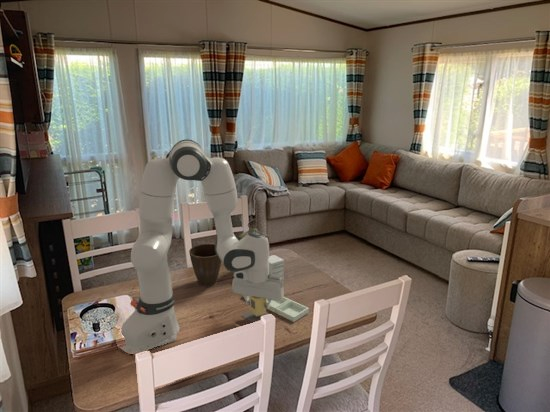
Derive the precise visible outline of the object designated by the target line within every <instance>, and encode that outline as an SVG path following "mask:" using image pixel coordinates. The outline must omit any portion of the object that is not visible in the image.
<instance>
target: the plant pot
mask: <svg viewBox="0 0 550 412" xmlns="http://www.w3.org/2000/svg"><path fill="white" fill-rule="evenodd" d="M189 257H190V262H191V266H192V268H193V272H194V275H195V277H196V279H197V281H198V283H199V285H201V286H203V287H210V286H213V285H215V284H216V281H217V279H218V276H219V274H220V269H221V266H222V261H221V260H220V258H219V257H218V256H217V254H216V252H215V244H213V243H203V244H197V245H195V246H192V247H191V248H190V249H189Z"/></svg>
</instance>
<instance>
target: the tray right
mask: <svg viewBox="0 0 550 412" xmlns="http://www.w3.org/2000/svg"><path fill="white" fill-rule="evenodd" d="M309 313H310V308H309V307H308V306H306V305H303V304H302V303H298V302H297V301H294V300H292V299H290V301H288V302H287V303H285V304H283V305H282V306H280V307H278V308H276V313H275V314H277V315H278V316H281V317H282V318H284V319H287V320H288V321H290V322H293V323H296V322H297V321H298V320H300V319H302V318H303V317H305V316H306V315H307V314H309Z"/></svg>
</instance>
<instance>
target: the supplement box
mask: <svg viewBox="0 0 550 412" xmlns="http://www.w3.org/2000/svg"><path fill="white" fill-rule="evenodd" d="M268 262H269V275H272V276H276V277H277V276H278V277H280V278H281V279H283V281H285V279H284V276H285V275H284V274H285V273H284V272H285V260H284V259H283V258H281V257H280V256H277V255H275V254H272V255H269V258H268Z"/></svg>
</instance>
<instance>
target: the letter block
mask: <svg viewBox="0 0 550 412" xmlns="http://www.w3.org/2000/svg"><path fill="white" fill-rule="evenodd" d="M265 304H266V299H265V298H259V297H254V296H250V305H249V312H252V313H253V314H254V315H255V316H259V315H261V314H264V313H266V312H267V309H266V308H265Z"/></svg>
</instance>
